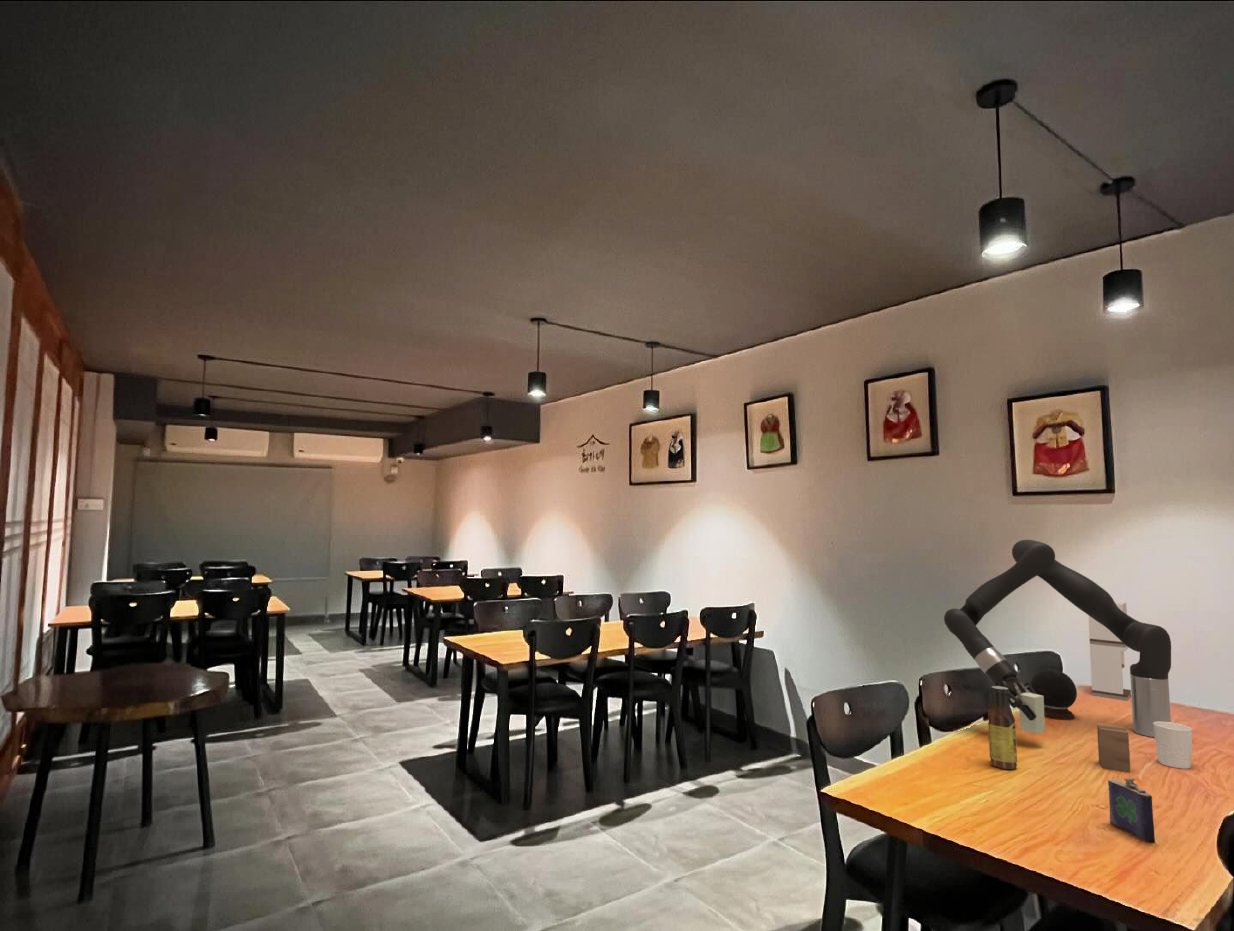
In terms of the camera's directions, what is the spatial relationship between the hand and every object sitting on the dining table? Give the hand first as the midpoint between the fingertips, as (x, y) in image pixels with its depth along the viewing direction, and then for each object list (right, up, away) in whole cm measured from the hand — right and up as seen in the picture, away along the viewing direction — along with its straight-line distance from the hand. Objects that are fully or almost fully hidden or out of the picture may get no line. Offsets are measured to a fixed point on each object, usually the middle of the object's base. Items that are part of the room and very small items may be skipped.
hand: (1038, 717), depth 189 cm
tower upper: (+10, -2, -15) cm, 18 cm away
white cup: (+28, -8, -12) cm, 32 cm away
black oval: (+27, -12, +34) cm, 45 cm away
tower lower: (+10, -7, -15) cm, 20 cm away
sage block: (-1, -4, +1) cm, 5 cm away
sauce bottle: (-20, -7, -16) cm, 26 cm away
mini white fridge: (+68, -16, +63) cm, 94 cm away
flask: (-15, -3, -54) cm, 56 cm away
